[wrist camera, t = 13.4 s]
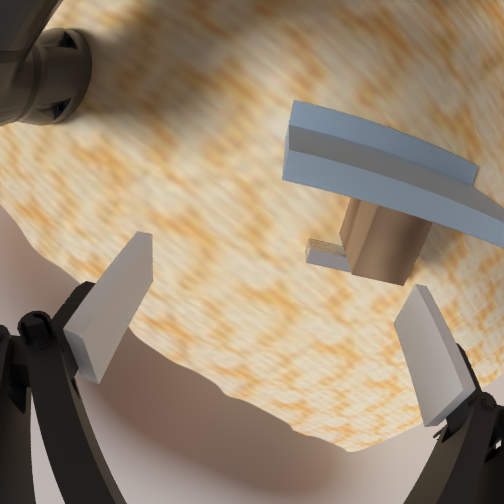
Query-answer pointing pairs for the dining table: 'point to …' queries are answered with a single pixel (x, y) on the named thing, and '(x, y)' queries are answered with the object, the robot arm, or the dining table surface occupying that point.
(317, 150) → the wall board
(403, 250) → the wooden box
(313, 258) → the cleat rail
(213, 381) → the dining table surface
